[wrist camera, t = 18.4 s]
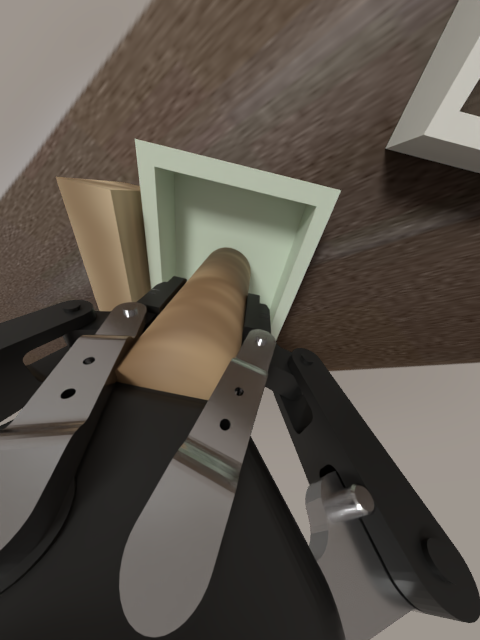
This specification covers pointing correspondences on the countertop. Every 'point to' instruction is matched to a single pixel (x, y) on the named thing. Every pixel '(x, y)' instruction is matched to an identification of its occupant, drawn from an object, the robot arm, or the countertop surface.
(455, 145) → the socket block
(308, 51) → the countertop surface
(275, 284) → the tray
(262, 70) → the countertop surface
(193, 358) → the dowel
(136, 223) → the rectangular wooden block
